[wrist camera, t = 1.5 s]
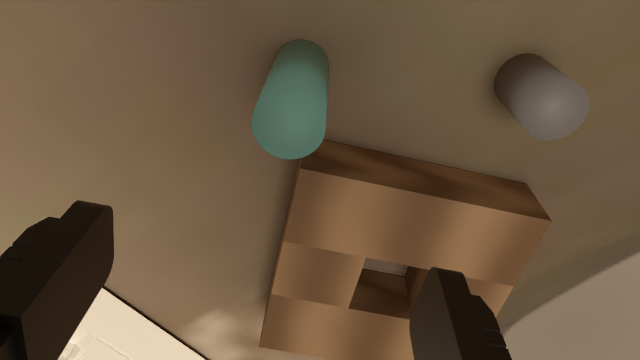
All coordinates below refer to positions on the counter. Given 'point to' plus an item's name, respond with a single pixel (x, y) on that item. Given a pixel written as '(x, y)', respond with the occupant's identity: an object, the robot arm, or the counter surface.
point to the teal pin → (293, 102)
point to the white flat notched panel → (121, 335)
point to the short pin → (541, 97)
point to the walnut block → (388, 248)
